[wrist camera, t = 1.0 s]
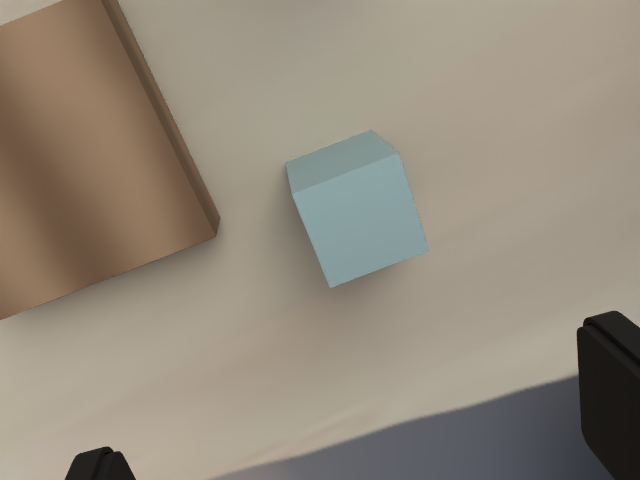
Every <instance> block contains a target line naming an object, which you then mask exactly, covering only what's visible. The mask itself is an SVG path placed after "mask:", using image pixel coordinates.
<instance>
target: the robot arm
mask: <svg viewBox="0 0 640 480" xmlns="http://www.w3.org/2000/svg"><path fill="white" fill-rule="evenodd" d="M577 349H578V369H579V389H580V407H581V408H580V409H581V428H582V433H583V436H584V439H585V441H586V443H587V444H588V446H589V447H590V449H591V450H592V451H593V453H594V454H595V455H596V457H597V458H598V459H599V460H600V461H601V463H602V464H603V465H604V466H605V468H606V469H607V470H608V472H609V473H610V474H611V475H612V477H613V478H614V479H615V480H640V328H639V327H638V326H637V325H635V324H634V323H633V322H632V321H630V320H629V319H628V318H626V317H625V316H624V315H623V314H621V313H619V312H618V311H610V312H607V313H603V314H599V315H595V316H592V317H588V318H586V319H585V320H584V322H583V327H580V328H578V330H577ZM65 480H136V479H135V477H134V475H133V473H132V471H131V469H130V467H129V465H128V463H127V461H126V460H125V458H124V456H123V454H122V453H121V452H120V451H116V452H114V451H113V450H112V449H111V448H110V447H102V448H98V449H95V450H91V451H87V452H83V453H80V454H78V455H77V456H76V457H75V458H74V460H73V462H72V464H71V467H70V469H69V471H68V474H67V476H66V478H65Z"/></svg>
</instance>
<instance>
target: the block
mask: <svg viewBox="0 0 640 480" xmlns="http://www.w3.org/2000/svg"><path fill="white" fill-rule="evenodd" d="M285 164H286V169H287V174H288V179H289V184H290V189H291V193H292V196H293V199H294V201H295V204H296V206H297V209H298V211H299V213H300V216H301V218H302V221H303V223H304V226H305V228H306V231H307V233H308V236H309V238H310V240H311V243H312V245H313V248H314V250H315V253H316V255H317V258H318V260H319V263H320V265H321V267H322V270H323V272H324V275H325V277H326V280H327V282H328V285H329V287H330V288H332V287H334V286H337V285H340V284H342V283H345V282H348V281H350V280H353V279H356V278H358V277H361V276H363V275H366V274H369V273H371V272H374V271H377V270H379V269H382V268H384V267H387V266H390V265H392V264H395V263H398V262H400V261H403V260H405V259H408V258H411V257H413V256H416V255H419V254H421V253H424V252H427V251H429V249H428V246H427V243H426V240H425V236H424V233H423V230H422V227H421V223H420V220H419V217H418V214H417V210H416V207H415V204H414V201H413V197H412V194H411V191H410V188H409V184H408V181H407V178H406V175H405V171H404V168H403V165H402V162H401V158H400V155H399V152H397V151H396V150H395V149H394V148H393V147H391V146H390V145H389V144H388V143H387V142H385V141H384V140H383V139H382V138H381V137H379V136H378V135H377V134H376V133H375V132H373V131H372V130H369V131H367V132H364V133H361V134H359V135H356V136H354V137H351V138H349V139H346V140H343V141H341V142H338V143H336V144H333V145H331V146H328V147H325V148H323V149H320V150H318V151H315V152H313V153H310V154H308V155H305V156H302V157H300V158H297V159H295V160H292V161H290V162H287V163H285Z"/></svg>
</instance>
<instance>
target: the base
mask: <svg viewBox="0 0 640 480" xmlns="http://www.w3.org/2000/svg"><path fill="white" fill-rule="evenodd" d="M219 220H220V216H219V214H218V212H217V210H216V207H215V205H214V203H213V201H212V199H211V197H210V195H209V193H208V191H207V189H206V186H205V184H204V182H203V180H202V178H201V176H200V174H199V172H198V170H197V168H196V165H195V163H194V161H193V159H192V157H191V155H190V153H189V151H188V149H187V147H186V144H185V142H184V140H183V138H182V136H181V134H180V132H179V130H178V128H177V126H176V123H175V121H174V119H173V117H172V115H171V113H170V111H169V109H168V107H167V105H166V102H165V100H164V98H163V96H162V94H161V92H160V90H159V88H158V86H157V84H156V81H155V79H154V77H153V75H152V73H151V71H150V69H149V67H148V65H147V63H146V60H145V58H144V56H143V54H142V52H141V50H140V48H139V46H138V44H137V42H136V39H135V37H134V35H133V33H132V31H131V29H130V27H129V25H128V23H127V21H126V18H125V16H124V14H123V12H122V10H121V8H120V6H119V4H118V2H117V0H63V1H60V2H58V3H55V4H53V5H51V6H48V7H46V8H43V9H41V10H38V11H36V12H33V13H31V14H28V15H26V16H24V17H21V18H19V19H16V20H14V21H11V22H9V23H6V24H4V25H1V26H0V320H2V319H5V318H7V317H10V316H12V315H15V314H18V313H20V312H23V311H25V310H28V309H30V308H33V307H36V306H38V305H41V304H43V303H46V302H49V301H51V300H54V299H56V298H59V297H61V296H64V295H67V294H69V293H72V292H74V291H77V290H80V289H82V288H85V287H87V286H90V285H92V284H95V283H98V282H100V281H103V280H105V279H108V278H111V277H113V276H116V275H118V274H121V273H123V272H126V271H129V270H131V269H134V268H136V267H139V266H142V265H144V264H147V263H149V262H152V261H154V260H157V259H160V258H162V257H165V256H167V255H170V254H173V253H175V252H178V251H180V250H183V249H186V248H188V247H191V246H193V245H196V244H198V243H201V242H204V241H206V240H209V239H211V238H214V237H216V234H217V230H218V225H219Z"/></svg>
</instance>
